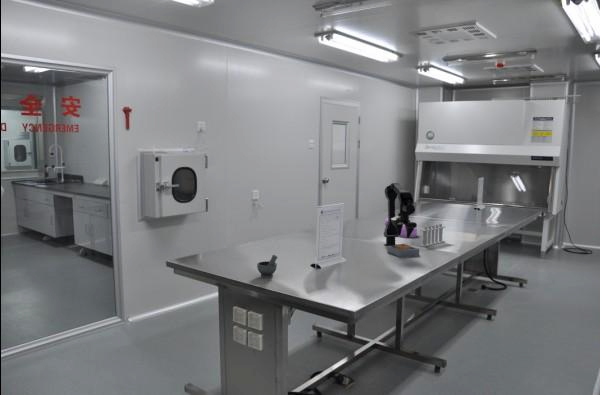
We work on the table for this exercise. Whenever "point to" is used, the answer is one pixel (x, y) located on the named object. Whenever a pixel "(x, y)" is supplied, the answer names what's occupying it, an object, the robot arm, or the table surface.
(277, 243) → the table surface
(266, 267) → the mortar and pestle
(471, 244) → the table surface
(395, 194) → the robot arm
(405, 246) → the small crate
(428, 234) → the test tube rack
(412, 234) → the container set
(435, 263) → the table surface
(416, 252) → the large crate
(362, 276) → the table surface
